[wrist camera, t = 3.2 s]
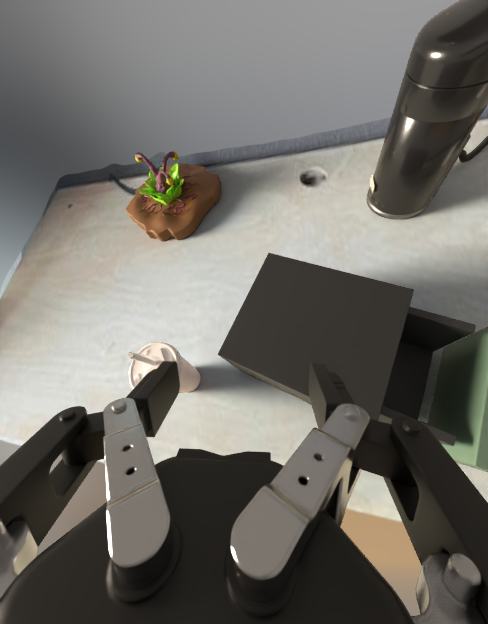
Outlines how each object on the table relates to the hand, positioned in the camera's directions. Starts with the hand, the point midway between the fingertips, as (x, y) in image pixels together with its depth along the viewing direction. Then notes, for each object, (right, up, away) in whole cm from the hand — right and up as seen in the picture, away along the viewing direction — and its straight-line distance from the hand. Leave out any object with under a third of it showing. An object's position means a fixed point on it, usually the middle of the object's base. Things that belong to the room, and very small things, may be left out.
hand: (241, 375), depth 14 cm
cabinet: (+9, -1, +19) cm, 22 cm away
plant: (-15, +28, +38) cm, 50 cm away
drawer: (+19, -5, +15) cm, 24 cm away
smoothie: (-8, -7, +22) cm, 24 cm away
